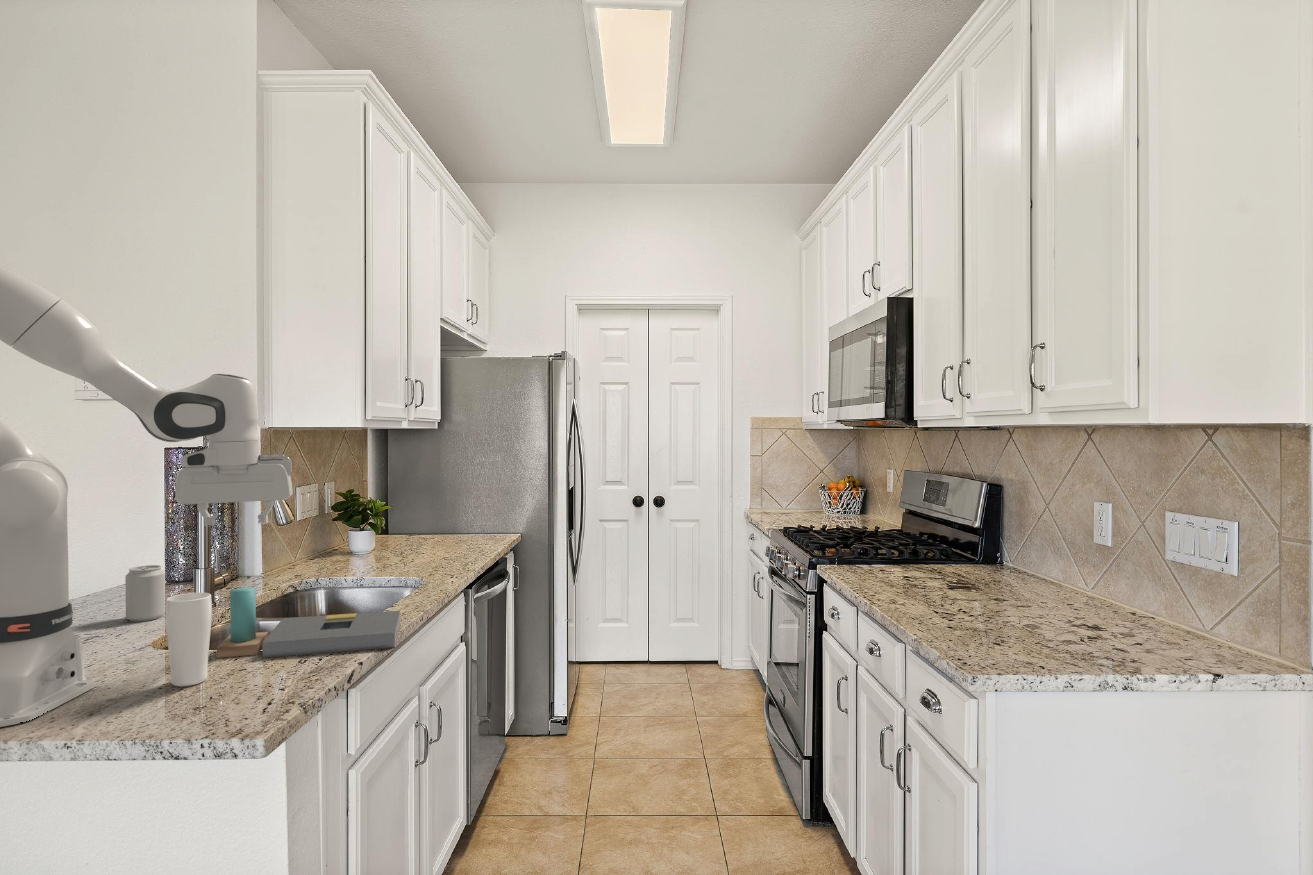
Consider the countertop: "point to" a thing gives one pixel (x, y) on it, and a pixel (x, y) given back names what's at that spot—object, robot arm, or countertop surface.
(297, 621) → the grey flat block
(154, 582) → the can
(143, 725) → the countertop surface
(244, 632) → the barrel peg
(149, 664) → the countertop surface
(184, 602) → the drinking glass
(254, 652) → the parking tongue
